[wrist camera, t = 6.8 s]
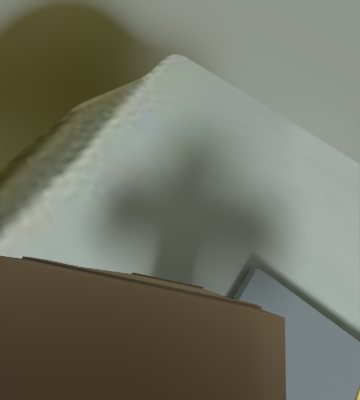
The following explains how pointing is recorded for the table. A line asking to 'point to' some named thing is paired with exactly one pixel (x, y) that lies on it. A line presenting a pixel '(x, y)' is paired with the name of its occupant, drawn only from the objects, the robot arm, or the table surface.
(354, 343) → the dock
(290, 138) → the table surface
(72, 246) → the table surface
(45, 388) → the brown block
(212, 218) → the table surface
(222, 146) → the table surface
